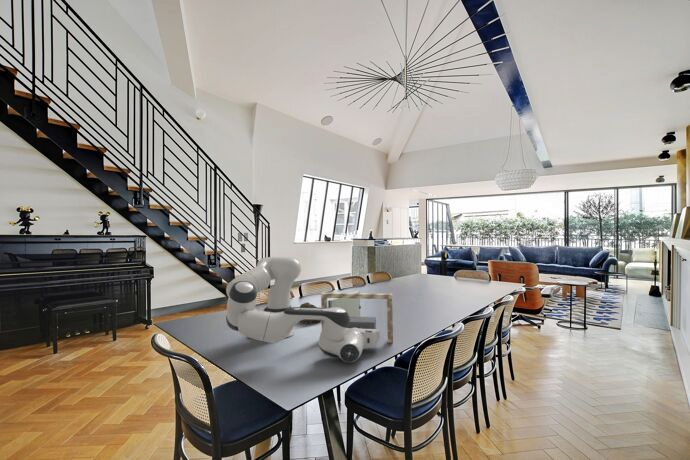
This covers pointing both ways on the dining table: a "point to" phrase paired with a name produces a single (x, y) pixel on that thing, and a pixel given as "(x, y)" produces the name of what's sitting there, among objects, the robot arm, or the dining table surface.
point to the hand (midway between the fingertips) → (358, 328)
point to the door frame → (365, 296)
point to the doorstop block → (362, 322)
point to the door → (347, 305)
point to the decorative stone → (308, 319)
